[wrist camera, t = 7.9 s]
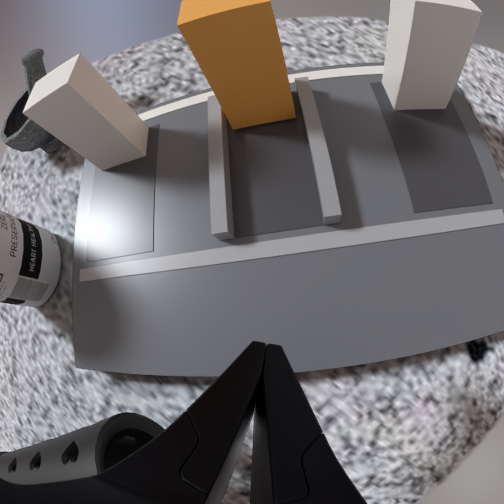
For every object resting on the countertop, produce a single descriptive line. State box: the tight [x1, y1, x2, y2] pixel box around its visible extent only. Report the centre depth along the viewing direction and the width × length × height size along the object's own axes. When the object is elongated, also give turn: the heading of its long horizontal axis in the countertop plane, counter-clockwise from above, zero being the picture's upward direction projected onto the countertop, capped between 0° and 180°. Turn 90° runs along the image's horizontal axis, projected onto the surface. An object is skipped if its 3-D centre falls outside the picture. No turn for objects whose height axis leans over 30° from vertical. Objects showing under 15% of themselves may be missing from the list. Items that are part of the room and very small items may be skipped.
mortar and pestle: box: [0, 49, 63, 154], centre depth 25 cm, size 11×9×12 cm
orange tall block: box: [177, 0, 296, 130], centre depth 16 cm, size 3×5×10 cm, turn 95°
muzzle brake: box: [0, 412, 165, 484], centre depth 15 cm, size 10×28×10 cm, turn 120°
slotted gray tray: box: [23, 0, 504, 376], centre depth 16 cm, size 22×34×12 cm, turn 95°
